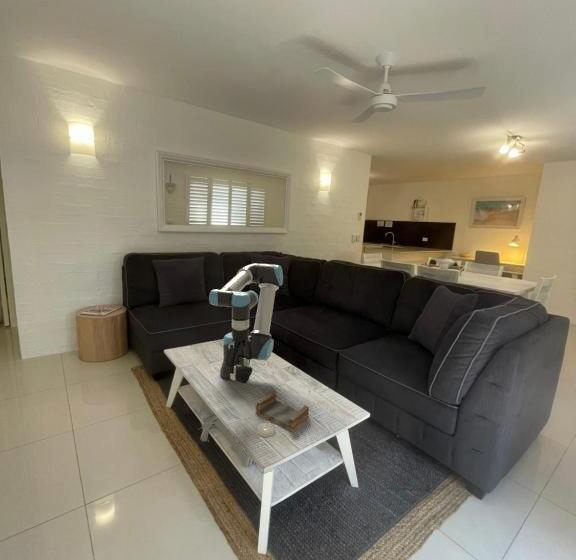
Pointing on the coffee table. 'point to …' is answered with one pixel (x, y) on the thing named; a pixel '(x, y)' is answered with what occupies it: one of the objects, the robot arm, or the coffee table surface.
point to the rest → (281, 412)
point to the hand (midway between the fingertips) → (239, 375)
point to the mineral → (243, 373)
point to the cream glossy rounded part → (266, 430)
